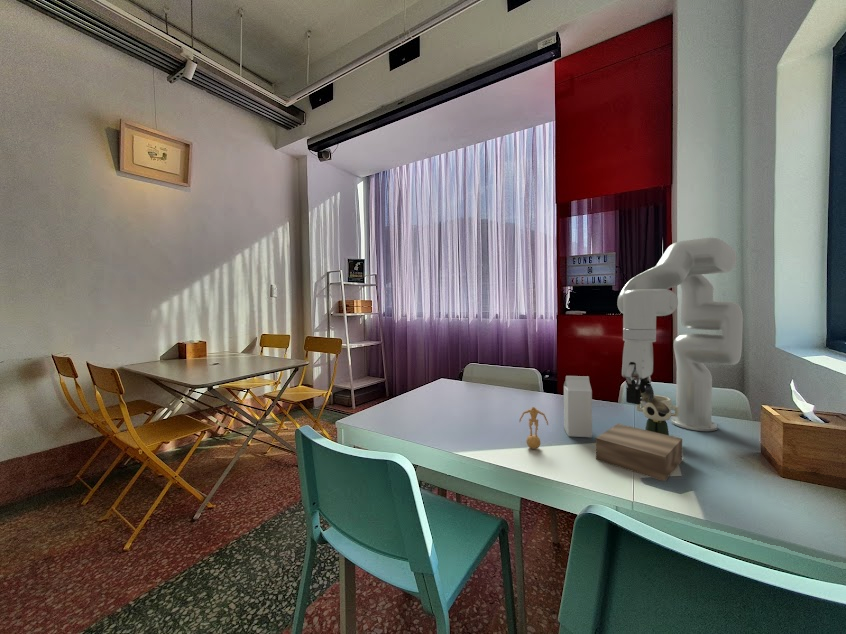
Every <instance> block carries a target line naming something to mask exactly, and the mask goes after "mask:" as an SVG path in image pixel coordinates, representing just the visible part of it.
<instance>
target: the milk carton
mask: <svg viewBox="0 0 846 634" xmlns="http://www.w3.org/2000/svg"><path fill="white" fill-rule="evenodd" d="M563 429H564V431H565V433H566V434H567V437H575V438H576V437H577V438H578V437H579V438H592V436H593V390H592V386H591V383H590V376H588V375H587V376H584V375H583V376H580V375H579V376H578V375H566V376H565V381H564V383H563Z"/></svg>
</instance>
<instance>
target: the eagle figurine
mask: <svg viewBox="0 0 846 634" xmlns="http://www.w3.org/2000/svg"><path fill="white" fill-rule="evenodd" d="M645 390H646V391H645V392H644V393H641V396H642V397H641V401H642V404H640V408H641V409H644V407H645V406H646V403H647V402H650V403H652V404H653V405H654V406H655V408H656V410H657V412H660V413H663V414H668V413H669V411H670V410H669V408H668V407H667V406H666V405H665V404H664V403H662V402H661V401H660V400H658V399H656V398H654V395H655V393H654V389H653V386H652V384H651V385H650V386H648V385H647V386H645Z"/></svg>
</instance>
